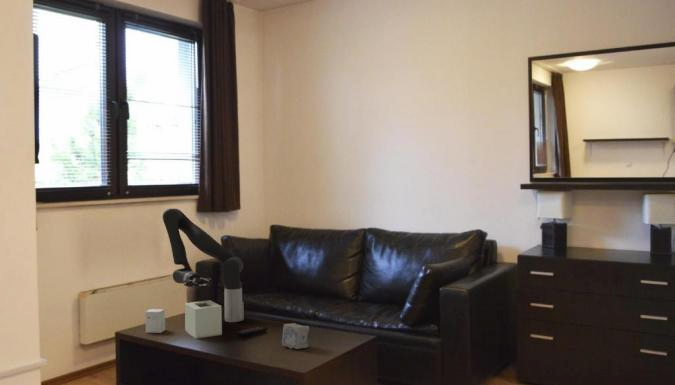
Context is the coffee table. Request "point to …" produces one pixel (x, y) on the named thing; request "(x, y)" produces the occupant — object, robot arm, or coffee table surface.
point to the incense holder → (295, 336)
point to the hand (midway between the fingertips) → (203, 284)
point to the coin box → (203, 319)
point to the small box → (155, 320)
